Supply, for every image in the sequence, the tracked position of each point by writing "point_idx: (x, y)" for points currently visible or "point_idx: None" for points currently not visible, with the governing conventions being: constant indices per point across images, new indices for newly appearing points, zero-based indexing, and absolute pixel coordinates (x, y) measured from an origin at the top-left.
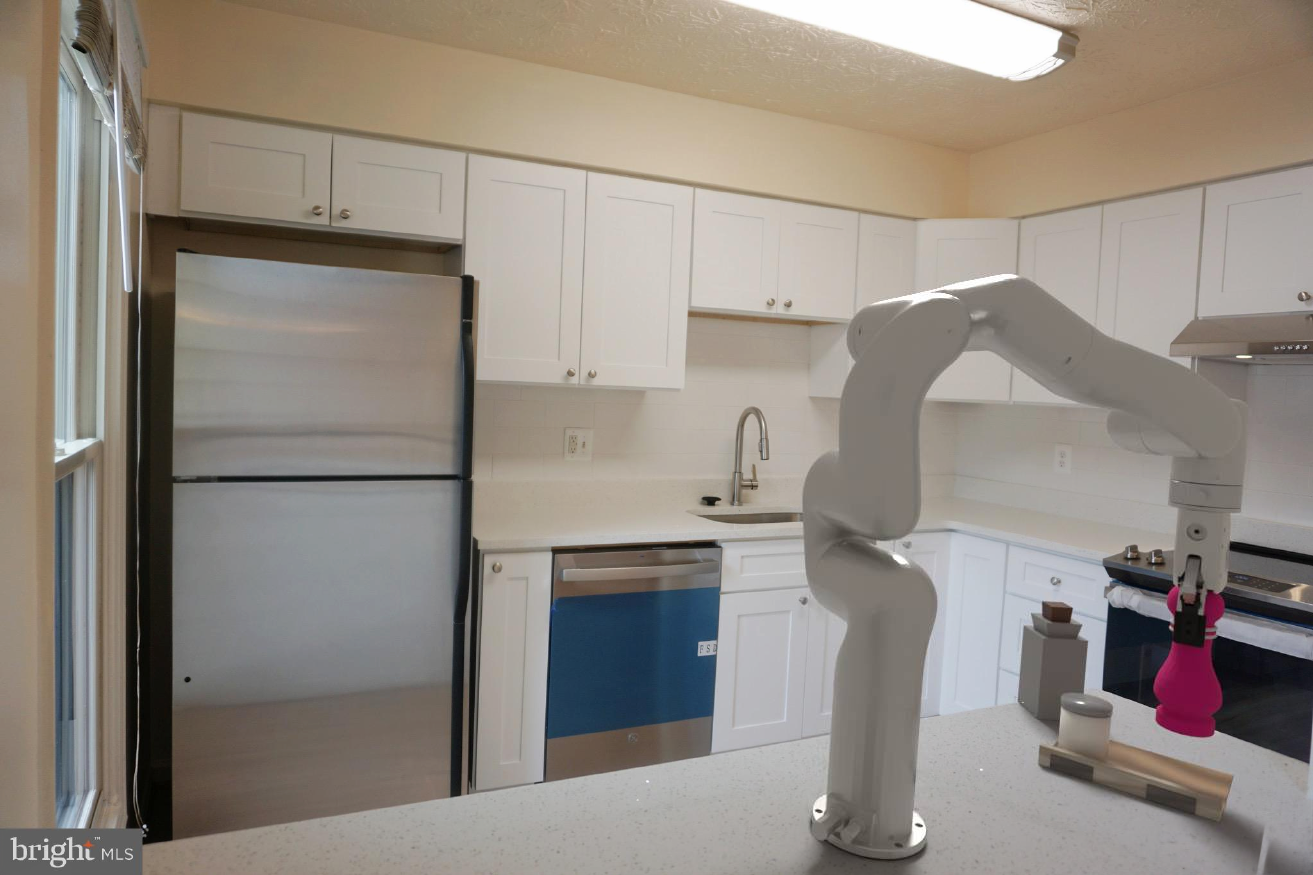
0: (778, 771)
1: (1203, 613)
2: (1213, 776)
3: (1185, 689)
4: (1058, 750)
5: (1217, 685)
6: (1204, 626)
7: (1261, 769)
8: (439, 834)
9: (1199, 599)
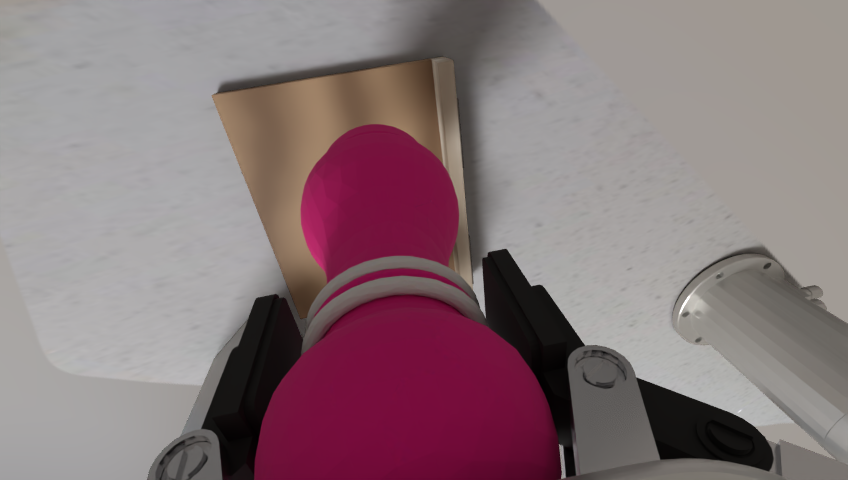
0: (664, 386)
1: (575, 361)
2: (258, 118)
3: (457, 210)
4: (471, 281)
5: (388, 161)
6: (541, 305)
7: (72, 71)
8: None
9: (737, 443)
